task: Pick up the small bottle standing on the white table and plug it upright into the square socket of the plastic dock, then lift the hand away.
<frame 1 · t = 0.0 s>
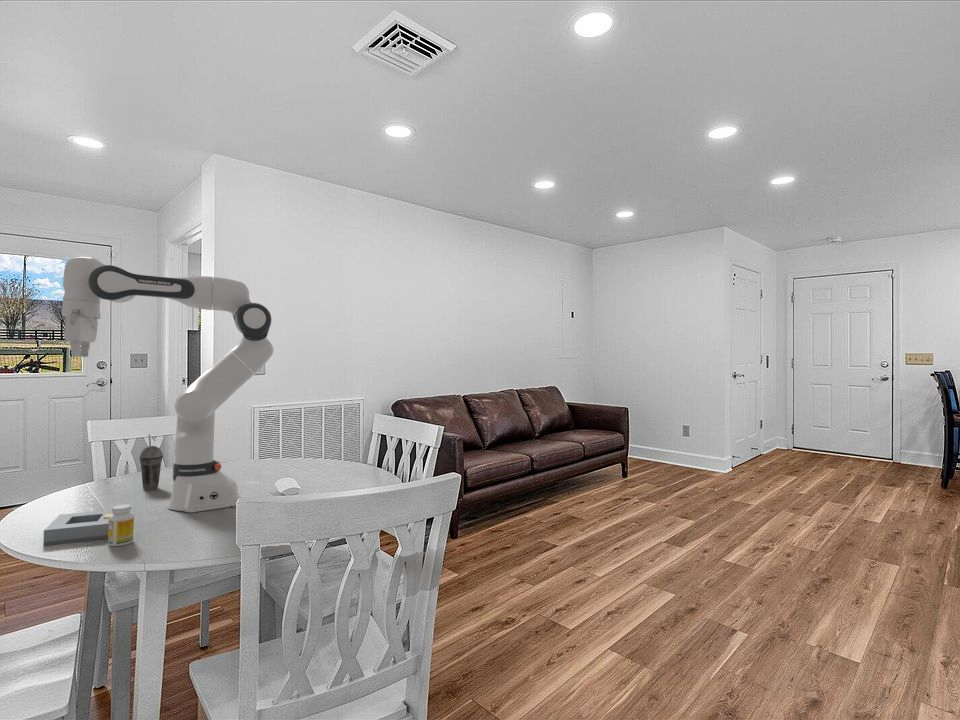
hand: (80, 357, 152), 48 cm above the table, tool pointing down, fingers open, 8 cm apart
beverage cup: (150, 489, 184), on the table
supplement bottle: (120, 543, 132), on the table
dock: (84, 533, 138), on the table
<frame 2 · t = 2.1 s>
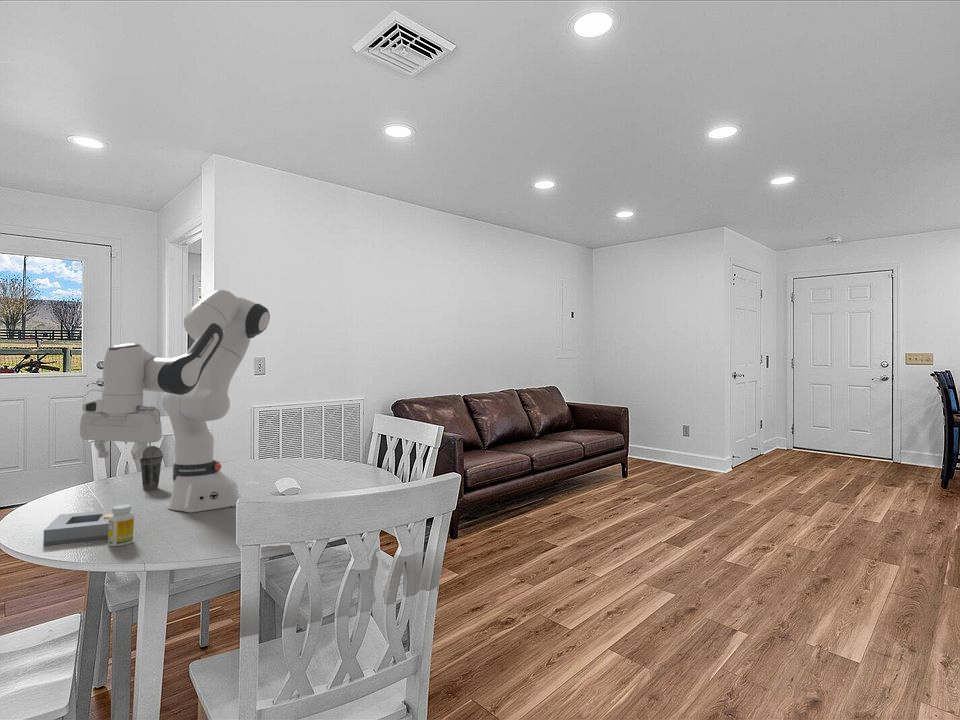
hand: (120, 458, 132), 22 cm above the table, tool pointing down, fingers open, 8 cm apart
nothing on the table moved.
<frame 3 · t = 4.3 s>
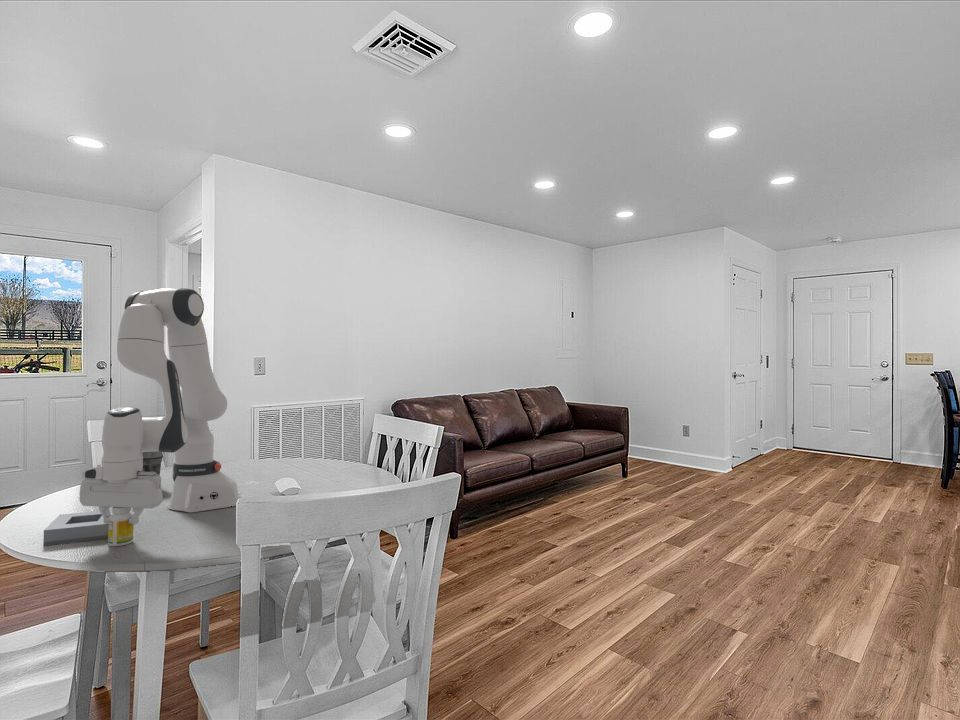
hand: (121, 523, 132), 5 cm above the table, tool pointing down, fingers closed on supplement bottle, 5 cm apart
supplement bottle: (120, 543, 132), on the table, touching gripper
everything else where it was.
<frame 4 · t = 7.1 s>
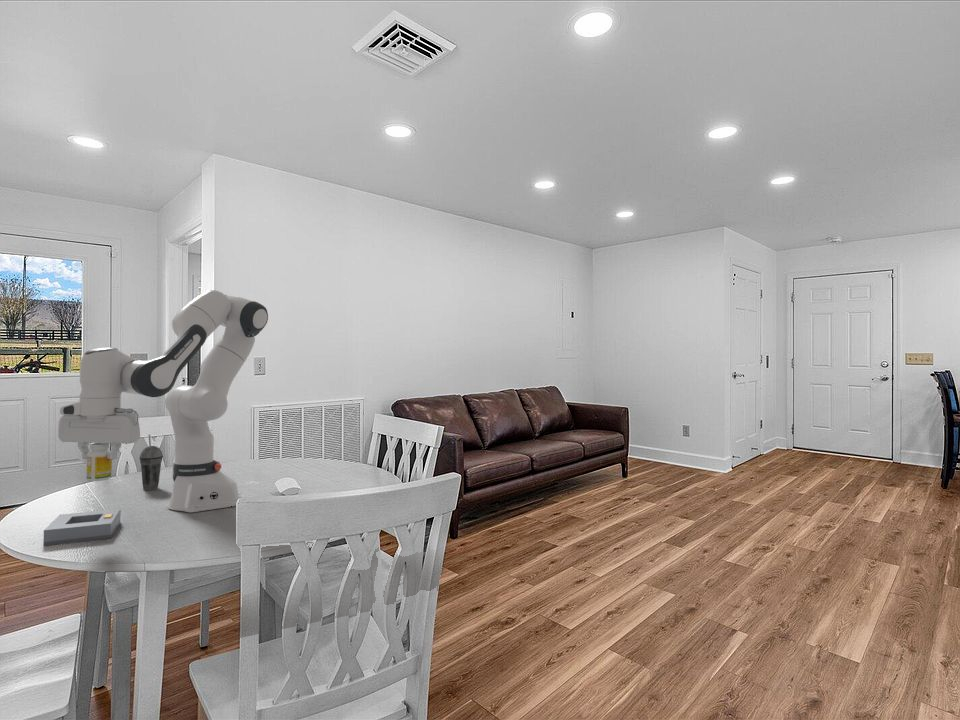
hand: (99, 459, 136), 21 cm above the table, tool pointing down, fingers closed on supplement bottle, 5 cm apart
supplement bottle: (99, 480, 136), point 15 cm above the table, touching gripper
everything else where it was.
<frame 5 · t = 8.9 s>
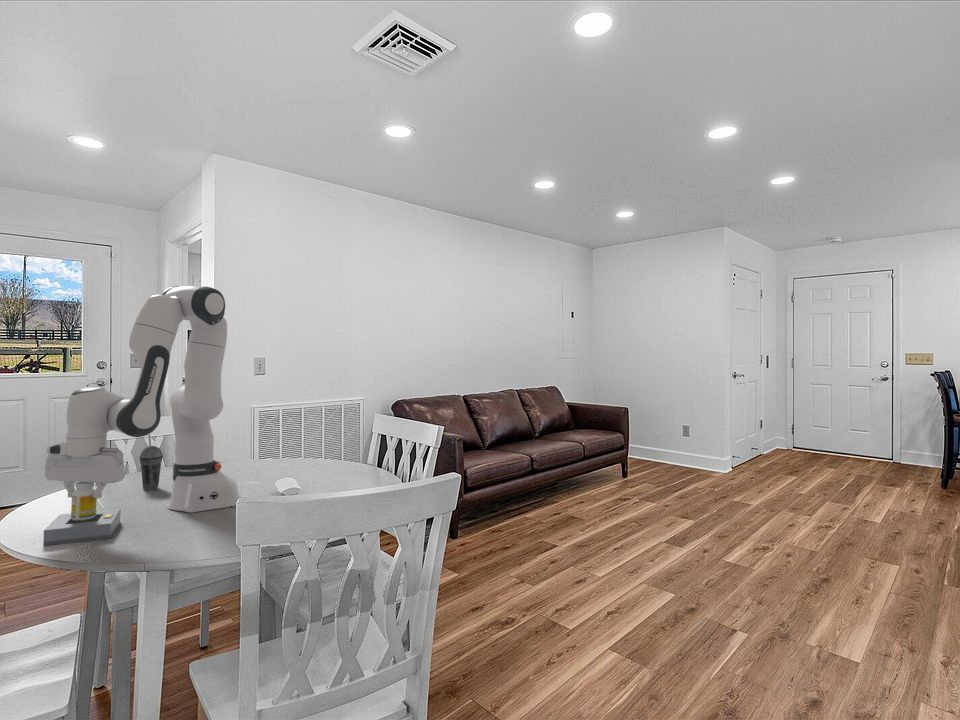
hand: (84, 497, 138), 10 cm above the table, tool pointing down, fingers closed on supplement bottle, 5 cm apart
supplement bottle: (83, 518, 138), point 4 cm above the table, touching gripper
everything else where it was.
when the fingers open (8 cm above the table, at t = 10.1 s): supplement bottle drops 1 cm, resting on dock.
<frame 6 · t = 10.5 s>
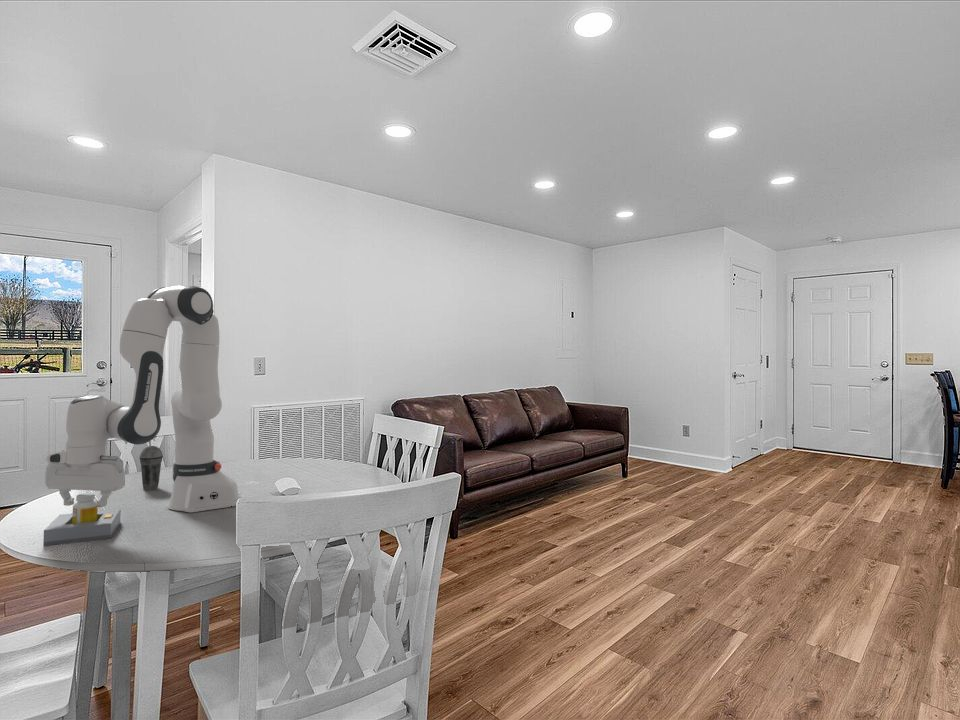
hand: (85, 505, 138), 8 cm above the table, tool pointing down, fingers open, 8 cm apart
supplement bottle: (84, 530, 138), point 1 cm above the table, touching dock
everything else where it was.
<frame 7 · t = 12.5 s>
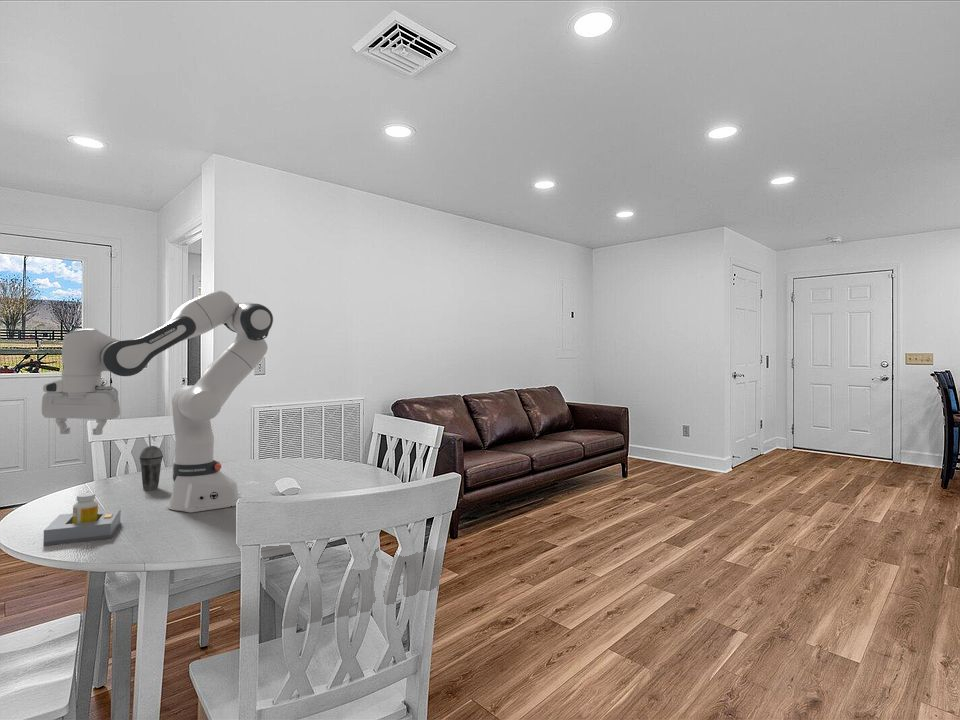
hand: (81, 434, 143), 26 cm above the table, tool pointing down, fingers open, 8 cm apart
nothing on the table moved.
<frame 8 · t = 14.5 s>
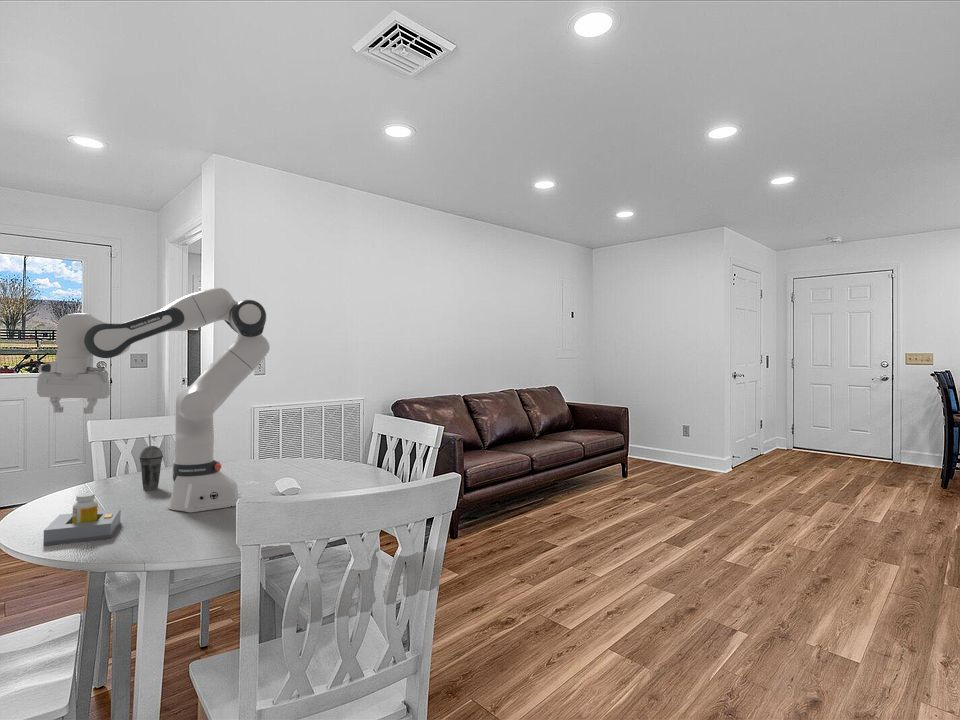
hand: (73, 413, 152), 31 cm above the table, tool pointing down, fingers open, 8 cm apart
nothing on the table moved.
at the end: supplement bottle 0.1 cm off-centre on the dock, point 0.8 cm above the dock's base; supplement bottle tilted 0°; the gripper is holding nothing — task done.
